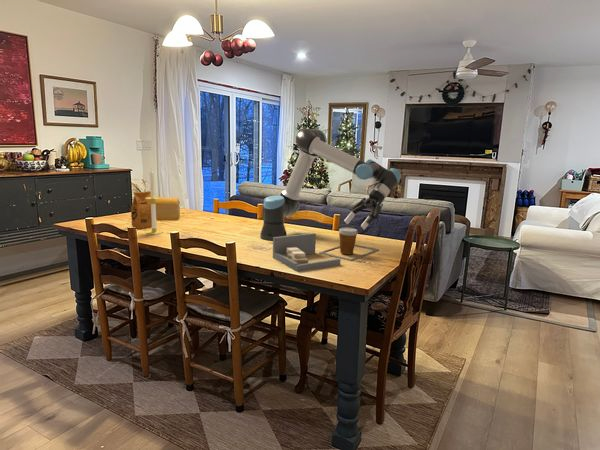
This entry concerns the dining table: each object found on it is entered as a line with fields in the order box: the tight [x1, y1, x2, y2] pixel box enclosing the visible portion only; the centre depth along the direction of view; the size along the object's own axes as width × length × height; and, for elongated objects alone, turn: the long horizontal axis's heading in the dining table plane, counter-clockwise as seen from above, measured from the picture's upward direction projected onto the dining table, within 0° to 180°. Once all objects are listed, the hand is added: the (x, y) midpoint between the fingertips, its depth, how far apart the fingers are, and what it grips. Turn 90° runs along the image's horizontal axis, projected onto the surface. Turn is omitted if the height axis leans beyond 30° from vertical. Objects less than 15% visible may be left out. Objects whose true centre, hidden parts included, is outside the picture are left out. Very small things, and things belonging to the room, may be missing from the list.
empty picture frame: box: [318, 243, 380, 262], centre depth 213 cm, size 19×2×30 cm
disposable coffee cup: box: [338, 226, 359, 255], centre depth 208 cm, size 10×10×12 cm
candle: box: [145, 168, 161, 235], centre depth 240 cm, size 10×10×38 cm
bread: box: [155, 196, 181, 221], centre depth 283 cm, size 24×13×15 cm, turn 101°
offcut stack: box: [284, 247, 309, 264], centre depth 192 cm, size 18×6×6 cm, turn 21°
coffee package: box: [130, 190, 152, 230], centre depth 255 cm, size 10×12×22 cm
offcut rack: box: [272, 232, 342, 272], centre depth 194 cm, size 23×23×10 cm
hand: (353, 225), depth 209 cm, fingers open, 13 cm apart
